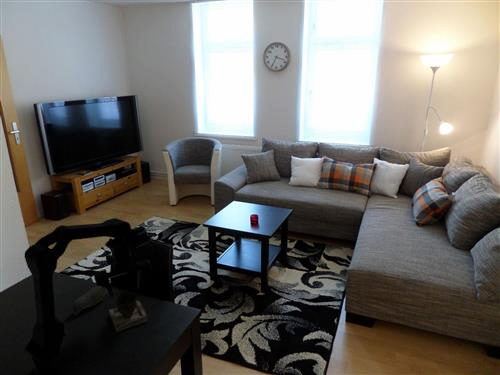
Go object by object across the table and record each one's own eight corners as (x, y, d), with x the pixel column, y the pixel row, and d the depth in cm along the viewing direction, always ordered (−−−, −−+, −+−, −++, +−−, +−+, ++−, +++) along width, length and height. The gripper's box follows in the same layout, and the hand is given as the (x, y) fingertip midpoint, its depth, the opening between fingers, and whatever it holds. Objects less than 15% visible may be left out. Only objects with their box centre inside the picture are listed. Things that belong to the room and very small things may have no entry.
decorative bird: (70, 313, 128) (67, 296, 125) (106, 292, 141) (104, 276, 139) (80, 318, 125) (77, 301, 123) (115, 296, 139) (113, 280, 136)
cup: (129, 306, 130) (127, 288, 128) (142, 313, 127) (141, 294, 124) (112, 317, 124) (110, 298, 122) (126, 324, 121) (124, 305, 118)
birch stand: (147, 320, 124) (147, 316, 124) (116, 332, 118) (115, 327, 118) (139, 304, 133) (138, 300, 132) (109, 314, 127) (109, 310, 127)
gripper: (142, 238, 129) (145, 274, 134) (88, 250, 119) (94, 289, 124) (150, 250, 120) (153, 288, 125) (94, 264, 111) (99, 305, 115)
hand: (125, 292), depth 122 cm, fingers open, 9 cm apart
